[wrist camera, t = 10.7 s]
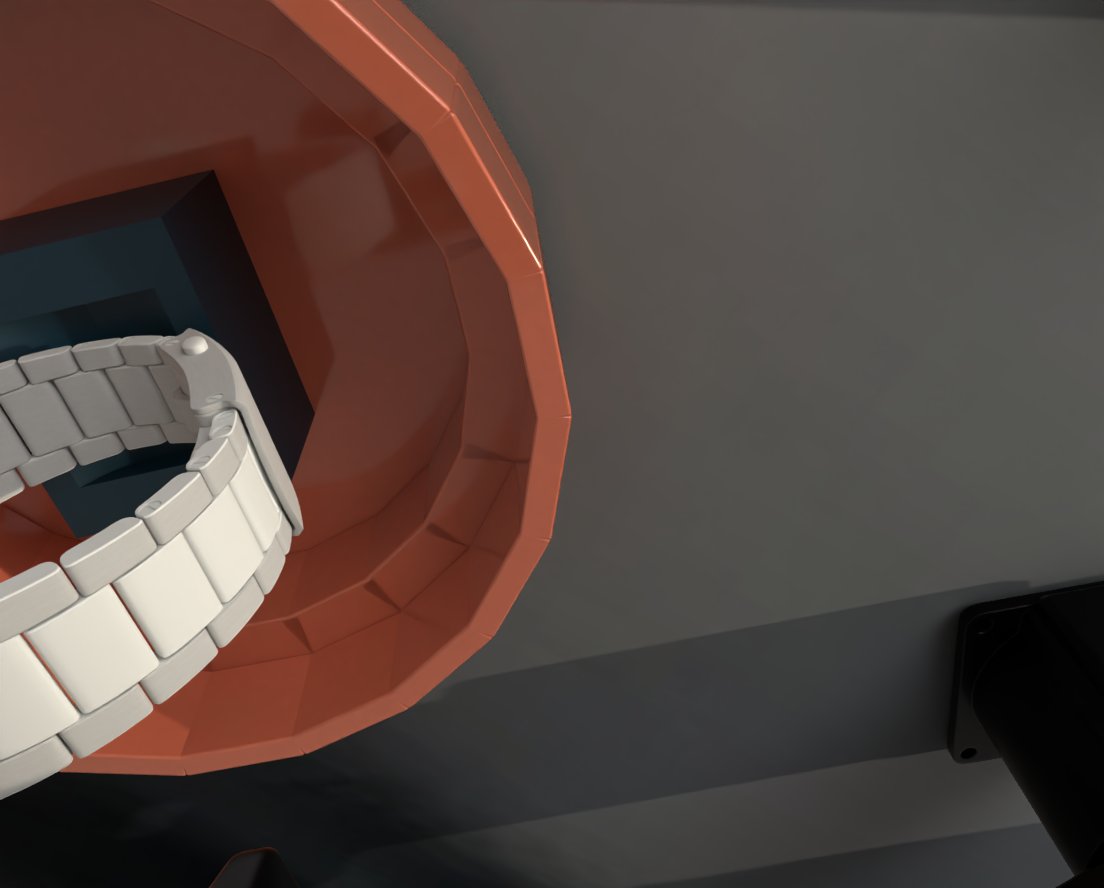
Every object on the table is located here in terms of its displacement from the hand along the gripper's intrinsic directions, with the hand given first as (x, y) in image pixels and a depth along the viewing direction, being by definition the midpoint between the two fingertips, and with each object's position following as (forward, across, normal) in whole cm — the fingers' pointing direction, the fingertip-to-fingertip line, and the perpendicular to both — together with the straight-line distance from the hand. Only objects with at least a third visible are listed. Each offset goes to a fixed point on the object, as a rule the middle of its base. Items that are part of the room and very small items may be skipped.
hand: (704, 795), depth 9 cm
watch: (+12, +9, -2) cm, 15 cm away
